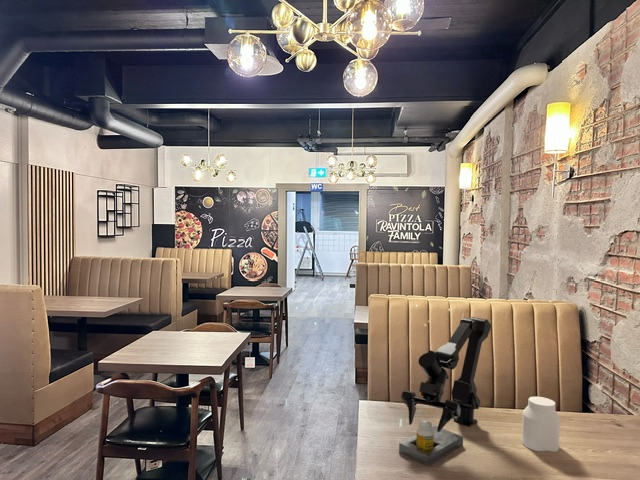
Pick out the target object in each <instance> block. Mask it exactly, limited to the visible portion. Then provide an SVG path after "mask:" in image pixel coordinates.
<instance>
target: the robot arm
mask: <svg viewBox="0 0 640 480" xmlns="http://www.w3.org/2000/svg"><path fill="white" fill-rule="evenodd" d="M491 329H492V324H491V322H490V321H489V319H487V318H486V319H485V318H480V317H474V316H471V317H470V318H465V317H464V318H461V319H460V321H459V324H458V326H457V328H456V329H455V331H454V333H452V335H451V337H450V339H449V340H448V341H447V343H446V344H444V345H441V346H440V347H439V348H438V349H437V350H436V351H434V350H430V349H429V350H428V352H425V353H423V354H421V356H419V358H418V365H419V366H420V368H421V369H422V370H423V372H424V373H425V375H426V376H428V377H427V380H426V381H425V382H424V381H420V385H419V389H418V390H419V391H418V392H419V393H420V395H421V396H422V397H421V396H417V395H416V393H415V392H414V391H411V390H403V391H402V392H401V395H400V398H401V400H402V401H403V403H404V405H406V407H407V408H408V423H409V425H410V426H411V425H412V423H414V418H415V414H416V410H417V407H416V406H417V404H420V405H426V406H429V407H433V408H437V409H442V413H441V416H440V419H439V422H438V424H437V427H438V429H437V432H440V431H441V429H442V428H443V429H444V427H445V426H446V425H447V423H449V421H451V420H453V421H454V422H457V423H459V424H462V425H464V426H468V427H470V426H472V425H474V424H476V423H478V419H476V418H475V410H479V408H480V406H481V399H480V398H479V396H478V395H477V390H478V389H477V385H476V382H475V379H476V372H477V368H478V367H477V366H478V364H479V358H480V354H481V349H482V344H483V342H484V341H485V340H486V339H487V338H488V337H489V334H490V331H491ZM467 340H468V342H467ZM466 342H467V346H466V350H465V355H464V361H463V365H462V369H461V375H460V376H459V378H458V379H455V380H454V381H453V386H452V389H451V391H450V392H451V393H450V394H451V399H452V400H451V399H446V400H445V402H443V401H442V398H443V397H442V396H444V389H445V386H446V381H447V380H449V379H450V378H449V374H448V372H447V370H454V369H455V368H456V367H457V366H458V363H459V360H460V355H459V354H460V352H461V350H462V348H463V347H464V345H465V343H466ZM446 369H447V370H446Z"/></svg>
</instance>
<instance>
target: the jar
mask: <svg viewBox="0 0 640 480" xmlns="http://www.w3.org/2000/svg"><path fill="white" fill-rule="evenodd" d="M521 416H522V422H521V423H522V424H521V425H522V427H521V441H520V442H521V443H522V445H523V446H525V447H526V448H527V449H530V450H532V451H535V452H552V453H557V452H558V451H559V450H560V430H561V427H560V426H561V417H560V416H559V414H558V412H557V411H556V402H555V401H554V400H552V399H550V398H546V397H543V396H530V397H529V398H528V403H527V406H526V407H525V408H524V409H523V411H522V415H521Z"/></svg>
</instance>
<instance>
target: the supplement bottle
mask: <svg viewBox="0 0 640 480" xmlns="http://www.w3.org/2000/svg"><path fill="white" fill-rule="evenodd" d="M432 425H433V424H432V422H430V421H428V420H420V421H419V422H418V428H417V429H416V434H417V445H416V446H418V447H420V448H422V449H424V450H426V451H428V450H430V449H432V448H433V441H434V432H433V430H432V429H431V428H432V427H433V426H432Z"/></svg>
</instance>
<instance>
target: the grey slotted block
mask: <svg viewBox="0 0 640 480" xmlns="http://www.w3.org/2000/svg"><path fill="white" fill-rule="evenodd" d="M431 429H432V430H433V432H434V441H433V448H432V449H430V450H428V451H426V450H424V449H422V448H420V447H418V446H416V445H417V433H416V434H414V435H412V436H411V437H408V438H406V439H405V440H402V441H400V442H399V444H398V453H400V454H403V455H405V456H407V457H409V458H411V459H413V460H415V461H417V462H419V463H421V464H424V465H426V466H430V465H432V464H433V463H435V462H437V461H439V460H440V459H442V458H445V456H447V455H449V454H450V453H453V452H454V451H456V450H458V449H459V448H461V447H463V446H464V436H462V435H460V434H457V433H455V432H452V431H449V430H448V429H444V427H443V428H442V429H441V431H440V432H437V429H438V425H433V426H432V428H431Z"/></svg>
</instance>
